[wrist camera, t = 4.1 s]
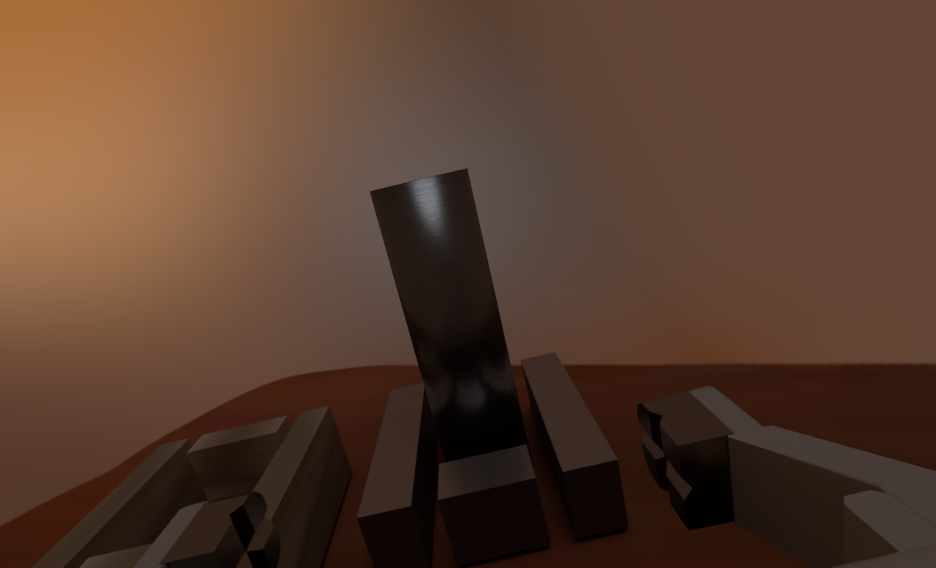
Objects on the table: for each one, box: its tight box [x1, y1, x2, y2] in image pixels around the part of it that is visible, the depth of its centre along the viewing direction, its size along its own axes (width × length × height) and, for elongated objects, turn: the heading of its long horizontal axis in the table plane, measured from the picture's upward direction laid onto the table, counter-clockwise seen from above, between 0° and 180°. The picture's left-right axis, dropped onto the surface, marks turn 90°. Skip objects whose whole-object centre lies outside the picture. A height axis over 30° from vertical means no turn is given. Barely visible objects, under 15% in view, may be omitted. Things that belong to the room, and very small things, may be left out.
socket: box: [357, 353, 629, 568], centre depth 21 cm, size 10×10×3 cm
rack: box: [32, 406, 352, 568], centre depth 19 cm, size 9×9×4 cm
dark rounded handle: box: [370, 169, 533, 467], centre depth 19 cm, size 4×4×14 cm
